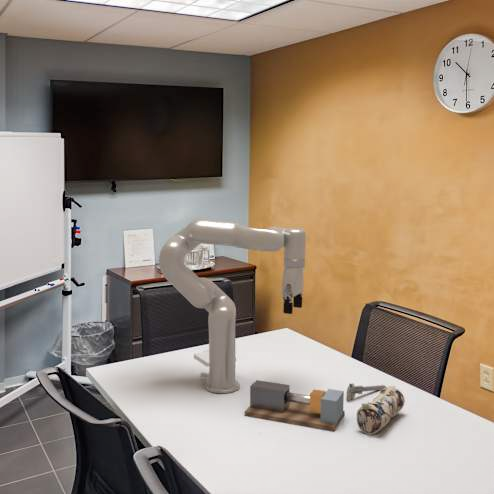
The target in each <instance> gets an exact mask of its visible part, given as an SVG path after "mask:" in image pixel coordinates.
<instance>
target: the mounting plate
mask: <svg viewBox="0 0 494 494" xmlns="http://www.w3.org/2000/svg"><path fill="white" fill-rule="evenodd" d="M193 358H195V360H197V361H199V362H200V363H201V364H203V365H205V366H206V367H207V368H208V367H209V349H203V350H202V352H198V353H194V354H193ZM235 362H237V357H236V356H235Z"/></svg>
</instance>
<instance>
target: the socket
mask: <svg viewBox="0 0 494 494" xmlns="http://www.w3.org/2000/svg"><path fill="white" fill-rule="evenodd" d="M344 392H345V391H344V390H339V389H332V388H328V389H327V390H326V393H325V394H324V396H323V397H322V398H321V421H320V422H326V423H332V424H337V422H338V420H339V419H340V417H341V416H342V414H343V411H344V399H345V398H344V395H345V393H344Z"/></svg>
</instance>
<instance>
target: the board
mask: <svg viewBox="0 0 494 494" xmlns="http://www.w3.org/2000/svg"><path fill="white" fill-rule="evenodd" d="M309 410H310V405H306V404H300V403H294V402H289V407H288V409H287V410H286V411H285V412H284V413H280V412H275V411H269V410H263V409H257V408H251V407H250V405H249V406H248V407H247V408H246V409H245V410H244V416H246V417H251V418H256V419H262V420H268V421H273V422H279V423H285V424H289V425H290V424H292V425H295V426H297V425H298V426H302V427H308V428H313V429H319V430H324V431H331V432H335V431H336V430H337V428H338V426H339V425H340V423H341V421H342V420H343V418H344V416H345V414H346V413H345V410H343V414H342V416H341V417H340V419H339V420H338V422H337V424H332V423H326V422H320V421H321V414H318V413H312V412H309Z"/></svg>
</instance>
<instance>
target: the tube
mask: <svg viewBox="0 0 494 494" xmlns="http://www.w3.org/2000/svg"><path fill="white" fill-rule="evenodd" d="M326 392H327V390H320V389H316V388H315V389H312V390H311V392H310V393H309V395H308V394H302V393H298V392H297V393H296V392H285V401H287V402H294V403H300V404H306V405H310V410H309V412H312V413H318V414H321V398H322V397H323V396H324V394H325V393H326Z"/></svg>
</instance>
